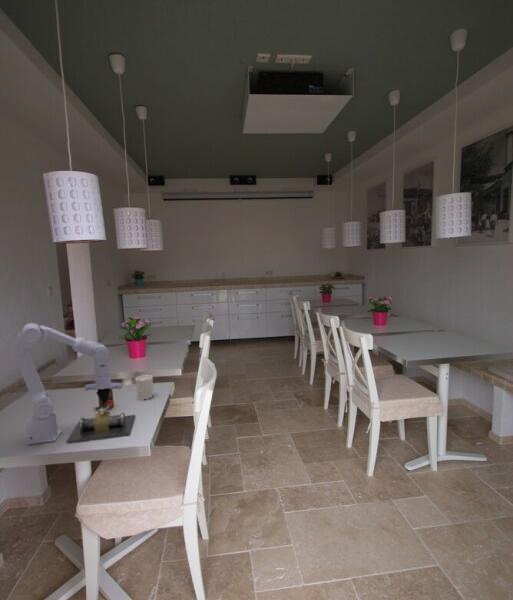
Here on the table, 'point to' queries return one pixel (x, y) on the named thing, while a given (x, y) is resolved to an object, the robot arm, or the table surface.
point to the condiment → (102, 403)
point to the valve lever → (106, 406)
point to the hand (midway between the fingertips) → (105, 406)
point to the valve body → (102, 427)
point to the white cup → (144, 386)
